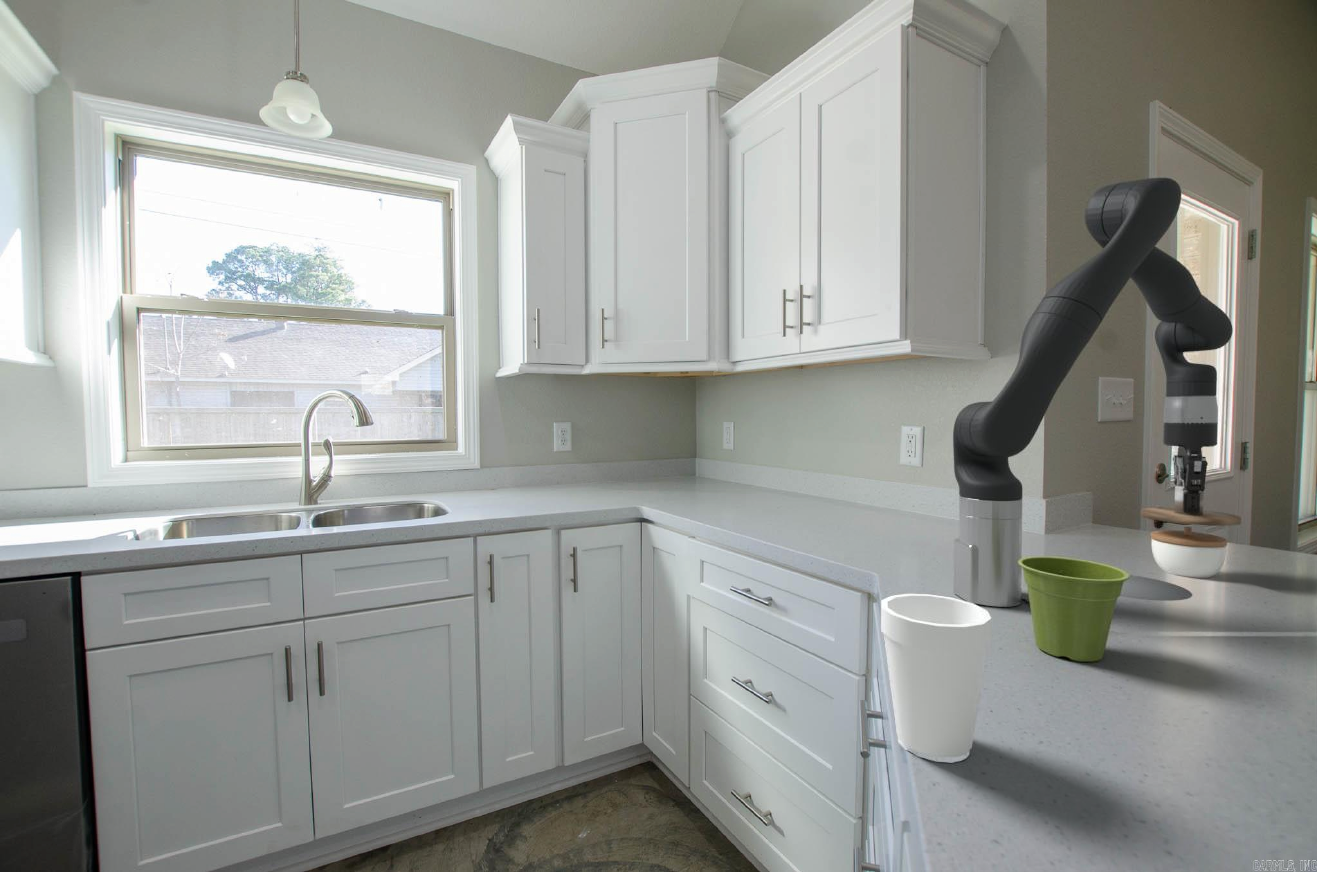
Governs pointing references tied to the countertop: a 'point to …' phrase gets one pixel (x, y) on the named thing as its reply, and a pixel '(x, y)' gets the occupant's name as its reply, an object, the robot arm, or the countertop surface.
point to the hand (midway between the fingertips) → (1188, 511)
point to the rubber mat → (1152, 589)
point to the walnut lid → (1185, 518)
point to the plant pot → (1072, 604)
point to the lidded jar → (1188, 552)
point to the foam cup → (935, 669)
